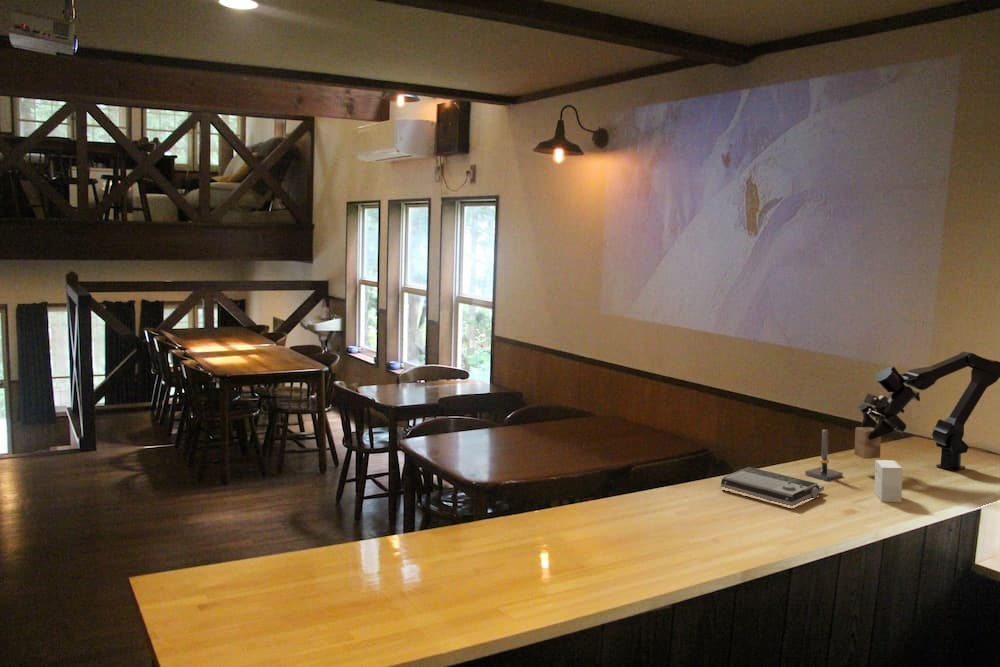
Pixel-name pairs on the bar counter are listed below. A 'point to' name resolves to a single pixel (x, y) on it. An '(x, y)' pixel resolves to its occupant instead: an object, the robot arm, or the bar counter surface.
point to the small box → (888, 481)
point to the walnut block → (866, 443)
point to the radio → (771, 486)
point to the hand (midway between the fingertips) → (863, 436)
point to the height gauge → (824, 463)
